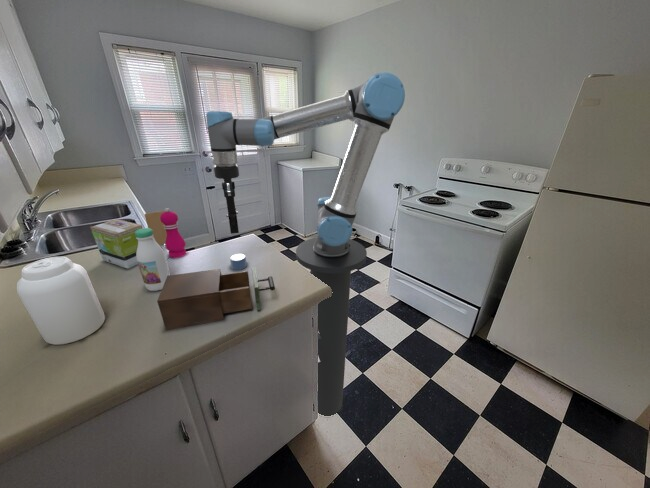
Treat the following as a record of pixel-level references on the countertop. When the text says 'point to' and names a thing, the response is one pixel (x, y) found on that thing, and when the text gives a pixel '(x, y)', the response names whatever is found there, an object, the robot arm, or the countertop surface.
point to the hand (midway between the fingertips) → (234, 232)
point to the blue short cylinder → (238, 261)
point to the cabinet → (191, 299)
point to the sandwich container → (156, 226)
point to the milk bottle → (151, 260)
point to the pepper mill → (173, 234)
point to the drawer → (240, 290)
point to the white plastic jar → (60, 300)
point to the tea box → (117, 242)
